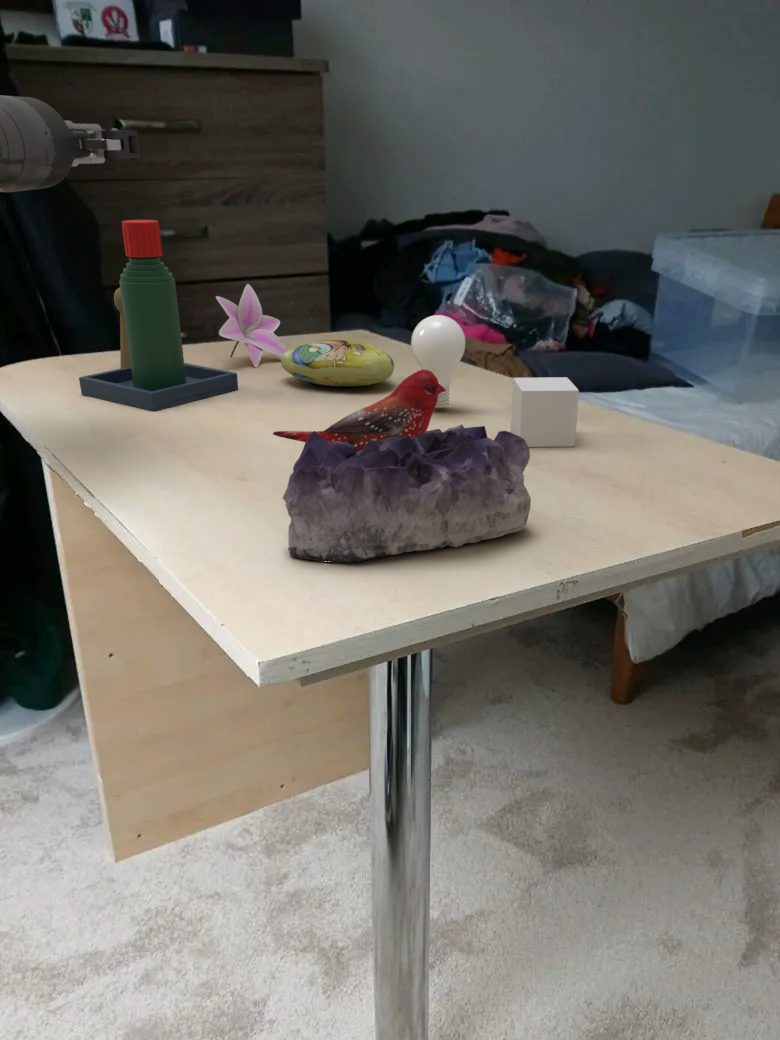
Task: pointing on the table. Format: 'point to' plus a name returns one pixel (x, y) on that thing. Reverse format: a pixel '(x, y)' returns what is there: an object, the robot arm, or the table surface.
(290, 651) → the table surface
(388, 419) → the decorative bird figurine
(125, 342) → the cork
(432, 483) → the geode
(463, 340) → the lightbulb
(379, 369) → the painted stone
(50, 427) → the table surface
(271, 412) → the table surface
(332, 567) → the table surface
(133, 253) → the cap
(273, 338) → the lily
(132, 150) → the robot arm
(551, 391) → the white cube
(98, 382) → the tray
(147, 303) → the bottle
